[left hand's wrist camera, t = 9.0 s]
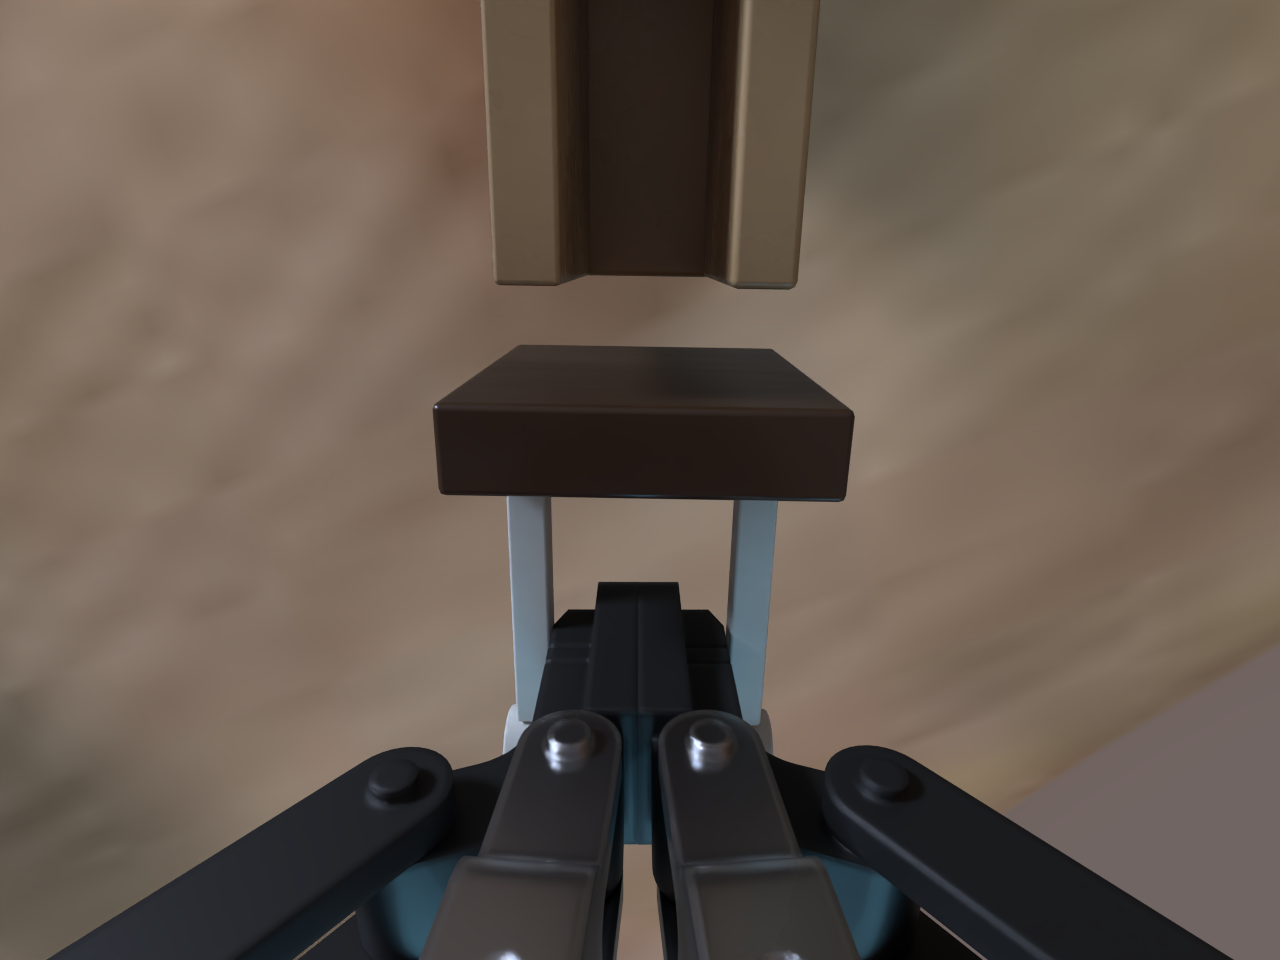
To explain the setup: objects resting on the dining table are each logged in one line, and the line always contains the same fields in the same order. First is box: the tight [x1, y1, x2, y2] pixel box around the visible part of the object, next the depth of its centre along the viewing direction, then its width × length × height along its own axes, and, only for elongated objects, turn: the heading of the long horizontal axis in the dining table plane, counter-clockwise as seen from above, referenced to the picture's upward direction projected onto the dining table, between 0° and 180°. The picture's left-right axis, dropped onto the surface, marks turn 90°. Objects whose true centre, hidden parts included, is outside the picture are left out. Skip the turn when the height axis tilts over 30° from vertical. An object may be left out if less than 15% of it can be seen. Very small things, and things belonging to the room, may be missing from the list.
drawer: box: [433, 0, 855, 755], centre depth 10 cm, size 22×5×6 cm, turn 179°
